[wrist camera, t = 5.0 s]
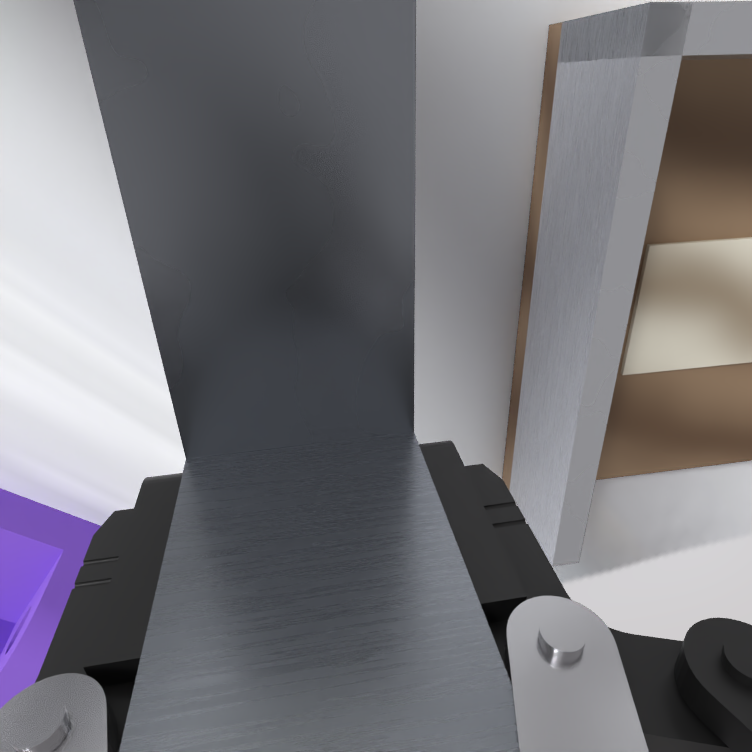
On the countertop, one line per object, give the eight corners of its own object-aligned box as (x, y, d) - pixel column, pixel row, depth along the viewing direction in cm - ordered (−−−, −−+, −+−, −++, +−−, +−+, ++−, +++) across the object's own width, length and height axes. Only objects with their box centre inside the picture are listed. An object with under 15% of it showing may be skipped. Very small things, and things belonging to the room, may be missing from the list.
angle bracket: (88, -76, 7) (-968, -917, 1) (392, -76, 8) (849, -656, 2) (210, 472, 12) (138, 918, 5) (398, 449, 12) (525, 834, 6)
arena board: (549, 25, 19) (564, 21, 18) (1006, 18, 22) (1043, 14, 21) (502, 478, 29) (510, 493, 28) (825, 438, 31) (844, 451, 30)
